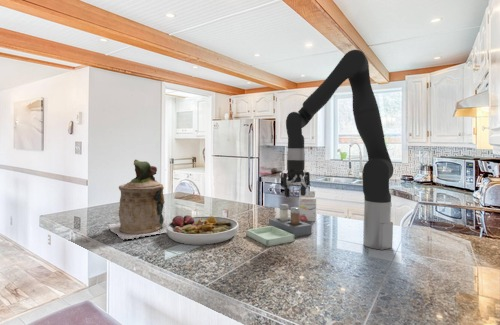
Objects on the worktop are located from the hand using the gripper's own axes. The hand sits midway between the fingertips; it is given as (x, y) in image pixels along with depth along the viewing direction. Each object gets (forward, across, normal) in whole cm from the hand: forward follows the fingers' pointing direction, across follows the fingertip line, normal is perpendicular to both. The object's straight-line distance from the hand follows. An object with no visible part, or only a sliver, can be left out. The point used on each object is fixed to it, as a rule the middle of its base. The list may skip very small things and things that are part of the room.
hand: (295, 196), depth 129 cm
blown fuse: (+16, 0, 0) cm, 16 cm away
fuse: (+16, 0, +8) cm, 18 cm away
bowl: (+17, -36, +17) cm, 43 cm away
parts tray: (+16, -14, -1) cm, 21 cm away
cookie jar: (+17, -57, +38) cm, 70 cm away
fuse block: (+16, 0, +4) cm, 17 cm away
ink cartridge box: (+16, +20, +15) cm, 30 cm away
